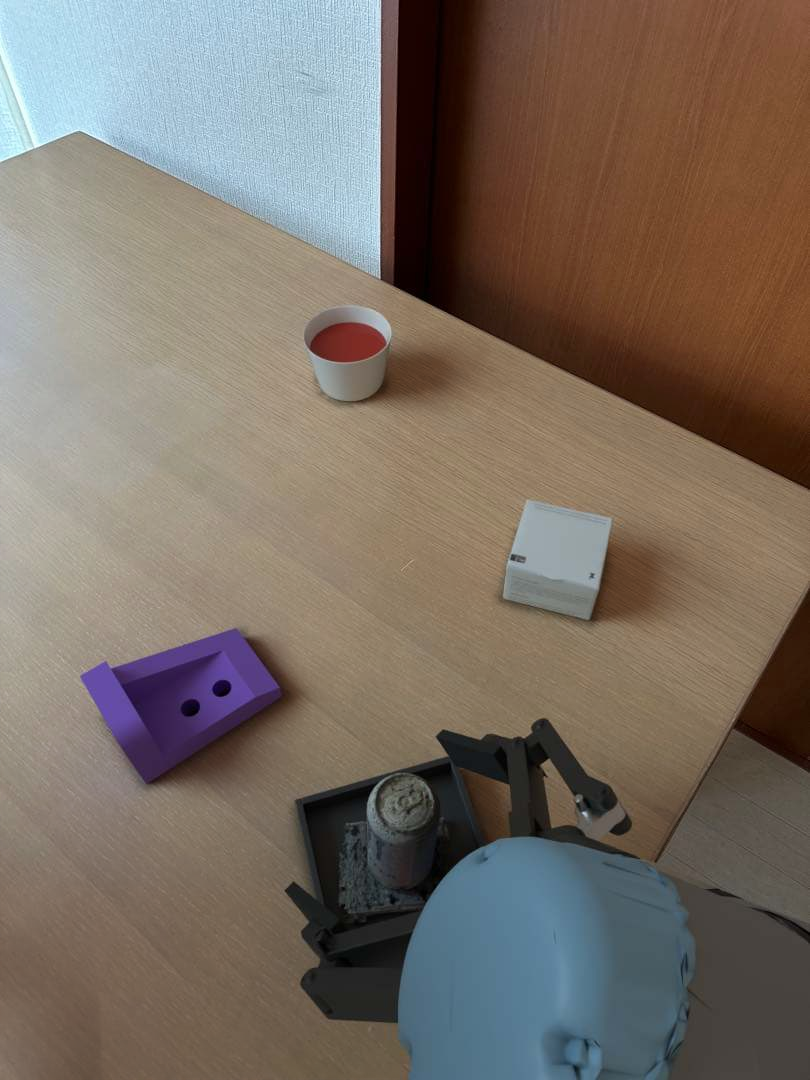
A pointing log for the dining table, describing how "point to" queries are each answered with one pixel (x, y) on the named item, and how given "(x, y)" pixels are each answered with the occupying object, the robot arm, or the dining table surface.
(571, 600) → the small box
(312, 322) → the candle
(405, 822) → the beverage can
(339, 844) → the black tray
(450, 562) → the dining table surface
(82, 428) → the dining table surface
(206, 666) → the bracket
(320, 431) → the dining table surface
